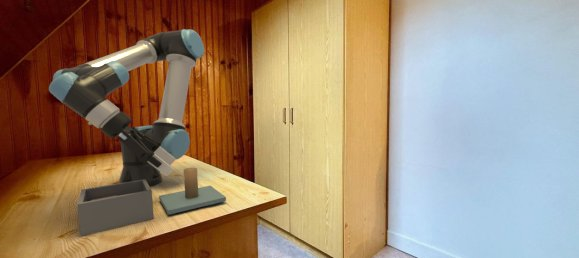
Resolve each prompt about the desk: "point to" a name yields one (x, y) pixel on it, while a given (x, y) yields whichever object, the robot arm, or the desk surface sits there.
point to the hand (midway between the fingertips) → (171, 167)
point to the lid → (190, 195)
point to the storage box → (114, 206)
